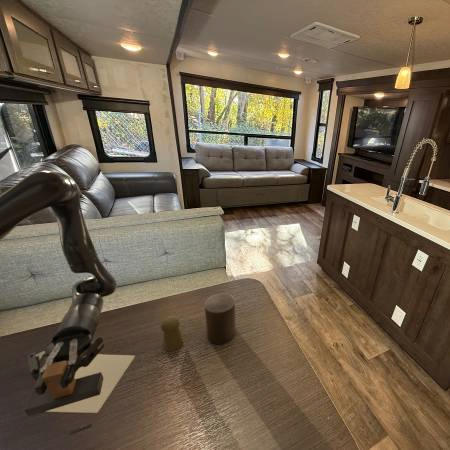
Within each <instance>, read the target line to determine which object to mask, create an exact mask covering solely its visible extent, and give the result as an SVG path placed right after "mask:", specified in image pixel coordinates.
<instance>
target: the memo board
mask: <svg viewBox="0 0 450 450" xmlns="http://www.w3.org/2000/svg"><path fill="white" fill-rule="evenodd" d="M135 357H136V355H127V354H101V353H98V355H97V356H96V357H95V358H94V359H93V361H92V362H91V363H90V364H89V365H88V366H87V367H80V368H79V369H78V370H77V371H76V374H75V376H74V378H75V379H78V378H82V377H85V376H89V375H92V374H96V373H100V372H101V373H102V375H103V378H104V379H103V383H102V388H101V393H100V395H97V396H94V397H91V398H88V399H84V400H81V401H78V402H75V403H71V404H68V405H65V406H62V407H58V408H55V409H52V410H48V411H45V412H44V413H74V414H75V413H78V414H98V413H99V412H100V411H101V409H102V407H103V406H104V404H105V402H106V401H107V400H108V398H109V397H110V395H111V394H112V392H113V391H114V389H115V388H116V387H117V385H118V383H119V382H120V380H121V378H122V377H123V376H124V374H125V373H126V371H127V370H128V368H129V366H130V365H131V364H132V362H133V360H134V359H135Z"/></svg>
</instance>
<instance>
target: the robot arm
mask: <svg viewBox="0 0 450 450" xmlns="http://www.w3.org/2000/svg"><path fill="white" fill-rule="evenodd" d="M48 208H50V209H51V211H52V213H53V215H54V216H55V217H54V218H55V219H56V223H57V226H58V227H57V228H58V234H59V240H60V246H61V250H62V252H63V255H64V258H65V260H66V262H67V265H68V268H69V269H70V271H71V272H72V273H73V274H90V275H92V276H91V277H87V278H83V279H80V280H78V281H77V282H75V283H74V284H73V285H72V288H71V294H72V296H71V304H70V306H69V308H68V310H67V312H66V313H65V314H64V316H63V318H62V319H61V321H60V323H59V325H58V327H57V329H56V331H55V332H54V335H53V337H52V339H51V343H50V344H49V345H47V347H46V348H45V349H44V350H43V351H41V352H39V353H36V352H31V353H29V354H28V355H27V356H26V358H27V364H28V368H29V373H30V375H31V377H32V378H33V380H34V381H35V383H34V385H33V389H34V391H36V393H38V395H42V394H44V393H45V391H46V389H47V386H46V385H45V383H44V381H43V380H42V377H43V374H44V372H45V370H46V367H47V365H50V364H54V363H58V362H62V361H67V362H68V366H67V367H66V369H65V371H64V374H63V376H62V378H61V381H60V384H61V387H62V388H66V387H68V385H69V384H71V383H72V381H73V379H74V376H75V374H76V371H77V370H78V369H79V368H80V367H87V366H88V365H89V364H90V363H91V362H92V361H93V359H94V358H95V357H96V356H97V355H98V354H100V352H101V351H102V350H103V349H104V347H105V342H104V339H103V337H98V338H96V339H94V337H95V333H96V331H97V328H98V326H99V322H100V318H101V317H100V315H101V312H102V310H103V307H104V297H108V296H110V295H113V294H114V293H115V292H116V290H117V287H118V284H117V280H116V278H115V277H114V275H112V273H111V272H110V271H109V270H108V269H107V268H106V267H105V265H104V264H103V262H102V260H101V259H100V257H99V255H98V253H97V250H96V248H95V245H94V242H93V240H92V238H91V235H90V233H89V231H88V227H87V224H86V221H85V218H84V214H83V210H82V207H81V201H80V194H79V189H78V186H77V183H76V182H75V180H74V178H72V177H71V176H69V175H67V174H65V173H64V172H63V173H62V172H59V171H52V170H39V171H35V172H33V173H31V174H29V175H27V176H26V177H24V178H23V179H22V180H21V179H20V181H19V182H17V183H15V184H14V185H13V186H12V187H10V188H9V189H7V190H6V191H4V192H3V193H1V194H0V241H2V240H4V239H5V238H6V237H7V236H8V235H9V234H10V233H11V232H12V231H13V230H14V229H15V228H16V227H18V226H19V224H21V223H22V222H23V221H25V220H26V219H28V218H30V217H31V216H34V215H36V214H38V213H39V212H41V211H43V210H45V209H48ZM44 358H46V359H45V363H44V364H43V361H44ZM42 364H43V366H42V367H41V365H42Z"/></svg>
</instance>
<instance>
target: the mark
mask: <svg viewBox="0 0 450 450" xmlns="http://www.w3.org/2000/svg"><path fill="white" fill-rule="evenodd" d="M92 424H93V423H89V424H85V425H83V426H80V427H78V428H75V429H74V428H73V429H71V430H70V431H69V433H68V435H73V434H75V433H77V432H80V431H83V430H86V429H89V428H91V427H92Z"/></svg>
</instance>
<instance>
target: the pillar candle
mask: <svg viewBox="0 0 450 450" xmlns="http://www.w3.org/2000/svg"><path fill="white" fill-rule="evenodd" d="M235 299H236V298H235V297H234V296H233V295H232V294H228V293H217V294H213V295H210V297H208V298H207V300H206V301H205V303H204V312H205V313H204V314H205V325H206V327H205V328H206V336H207V340H208V341H209V342H210V343H211V344H214V345H224V344H227V343H229V342H231V340H233V339H234V337H235V336H236V332H237V328H236V326H237V325H236V300H235ZM234 335H235V336H234Z"/></svg>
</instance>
